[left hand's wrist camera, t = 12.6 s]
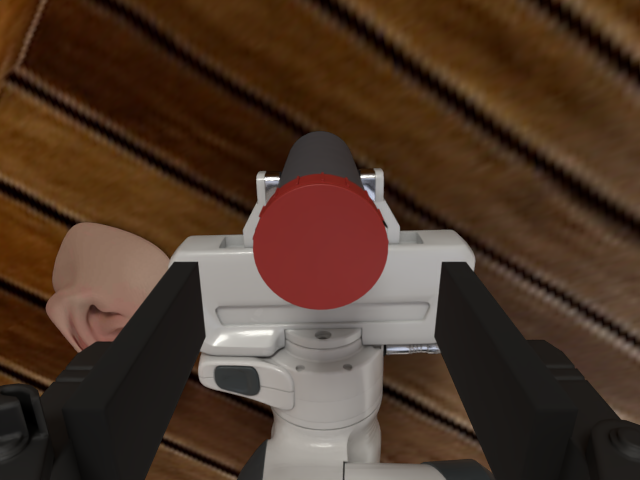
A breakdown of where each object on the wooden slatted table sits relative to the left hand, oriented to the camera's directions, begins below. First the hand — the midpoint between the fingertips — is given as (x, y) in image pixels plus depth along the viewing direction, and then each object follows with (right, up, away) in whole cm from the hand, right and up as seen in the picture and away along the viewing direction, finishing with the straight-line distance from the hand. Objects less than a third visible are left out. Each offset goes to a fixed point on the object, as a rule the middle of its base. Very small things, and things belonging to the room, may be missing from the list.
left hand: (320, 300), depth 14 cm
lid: (0, +2, +4) cm, 5 cm away
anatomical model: (-17, -3, +25) cm, 31 cm away
